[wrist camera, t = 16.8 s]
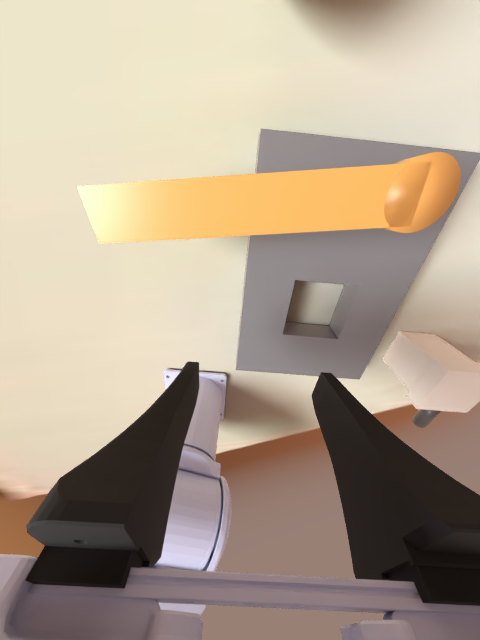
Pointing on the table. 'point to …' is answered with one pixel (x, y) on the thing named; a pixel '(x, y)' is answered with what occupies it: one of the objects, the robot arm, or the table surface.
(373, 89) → the table surface
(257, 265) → the socket block
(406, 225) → the orange paddle handle
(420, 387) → the plug
